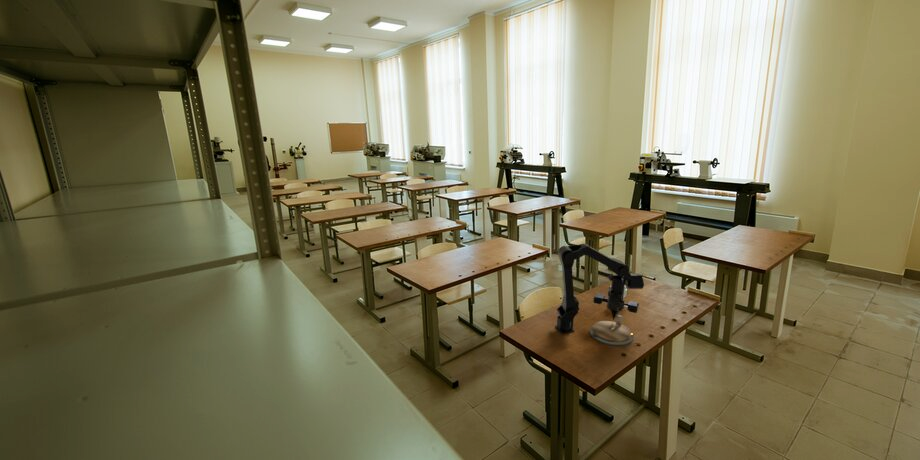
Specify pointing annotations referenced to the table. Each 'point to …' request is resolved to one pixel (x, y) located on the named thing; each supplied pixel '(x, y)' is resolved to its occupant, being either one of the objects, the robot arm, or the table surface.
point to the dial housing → (609, 341)
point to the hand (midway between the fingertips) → (613, 319)
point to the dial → (612, 330)
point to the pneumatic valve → (624, 291)
